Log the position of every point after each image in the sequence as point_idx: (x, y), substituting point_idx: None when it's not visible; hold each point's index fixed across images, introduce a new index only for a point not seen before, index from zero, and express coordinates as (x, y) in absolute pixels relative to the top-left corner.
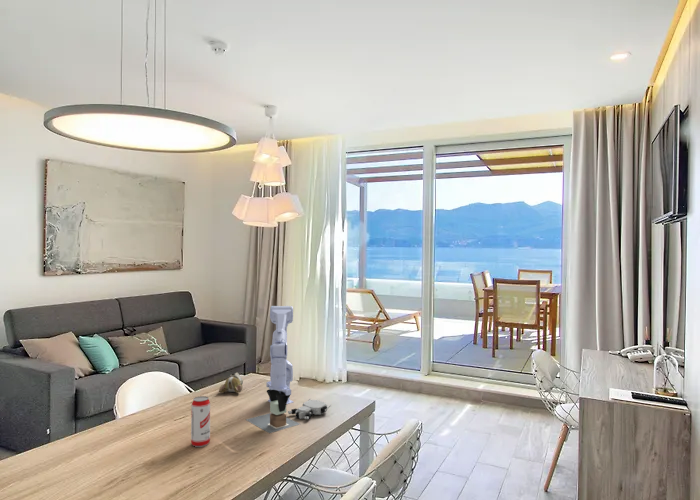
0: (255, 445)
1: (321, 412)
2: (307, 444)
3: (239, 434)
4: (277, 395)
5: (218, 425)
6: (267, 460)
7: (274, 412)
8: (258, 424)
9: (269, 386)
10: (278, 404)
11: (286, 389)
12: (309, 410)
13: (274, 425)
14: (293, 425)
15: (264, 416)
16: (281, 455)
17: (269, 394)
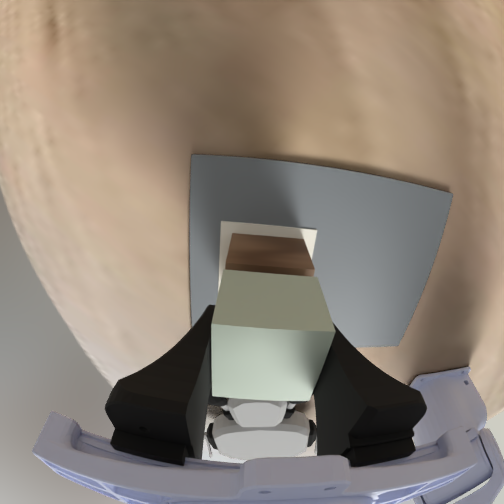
0: (128, 27)
1: (210, 424)
2: (20, 223)
3: (323, 35)
4: (138, 397)
5: (482, 74)
6: (13, 37)
7: (252, 279)
8: (356, 193)
9: (401, 467)
10: (206, 337)
11: (83, 477)
12: (232, 415)
13: (253, 237)
14: (198, 310)
15: (406, 285)
16: (5, 93)
17: (370, 386)
